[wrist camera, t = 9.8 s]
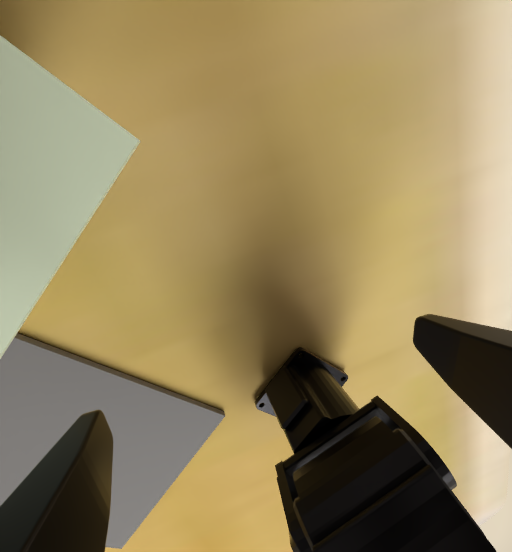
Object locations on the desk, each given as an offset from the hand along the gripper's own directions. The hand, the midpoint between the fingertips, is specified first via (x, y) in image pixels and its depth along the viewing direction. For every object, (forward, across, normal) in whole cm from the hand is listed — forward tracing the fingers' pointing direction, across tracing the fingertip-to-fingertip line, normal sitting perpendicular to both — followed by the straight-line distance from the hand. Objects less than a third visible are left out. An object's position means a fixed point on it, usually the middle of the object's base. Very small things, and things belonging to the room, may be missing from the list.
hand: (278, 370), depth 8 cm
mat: (+13, +13, +14) cm, 23 cm away
